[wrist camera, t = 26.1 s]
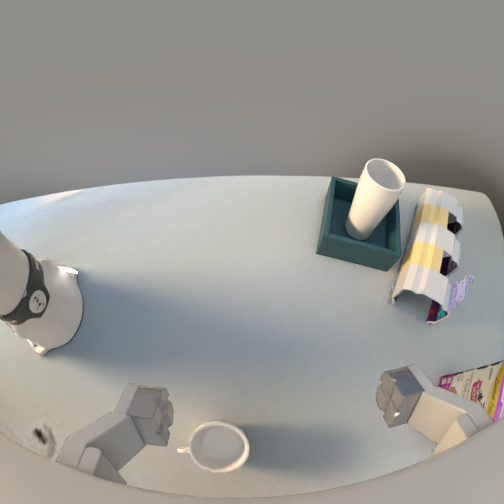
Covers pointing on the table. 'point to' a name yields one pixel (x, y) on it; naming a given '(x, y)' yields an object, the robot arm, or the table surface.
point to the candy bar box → (480, 387)
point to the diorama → (431, 260)
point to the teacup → (218, 447)
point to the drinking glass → (374, 197)
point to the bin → (347, 248)
